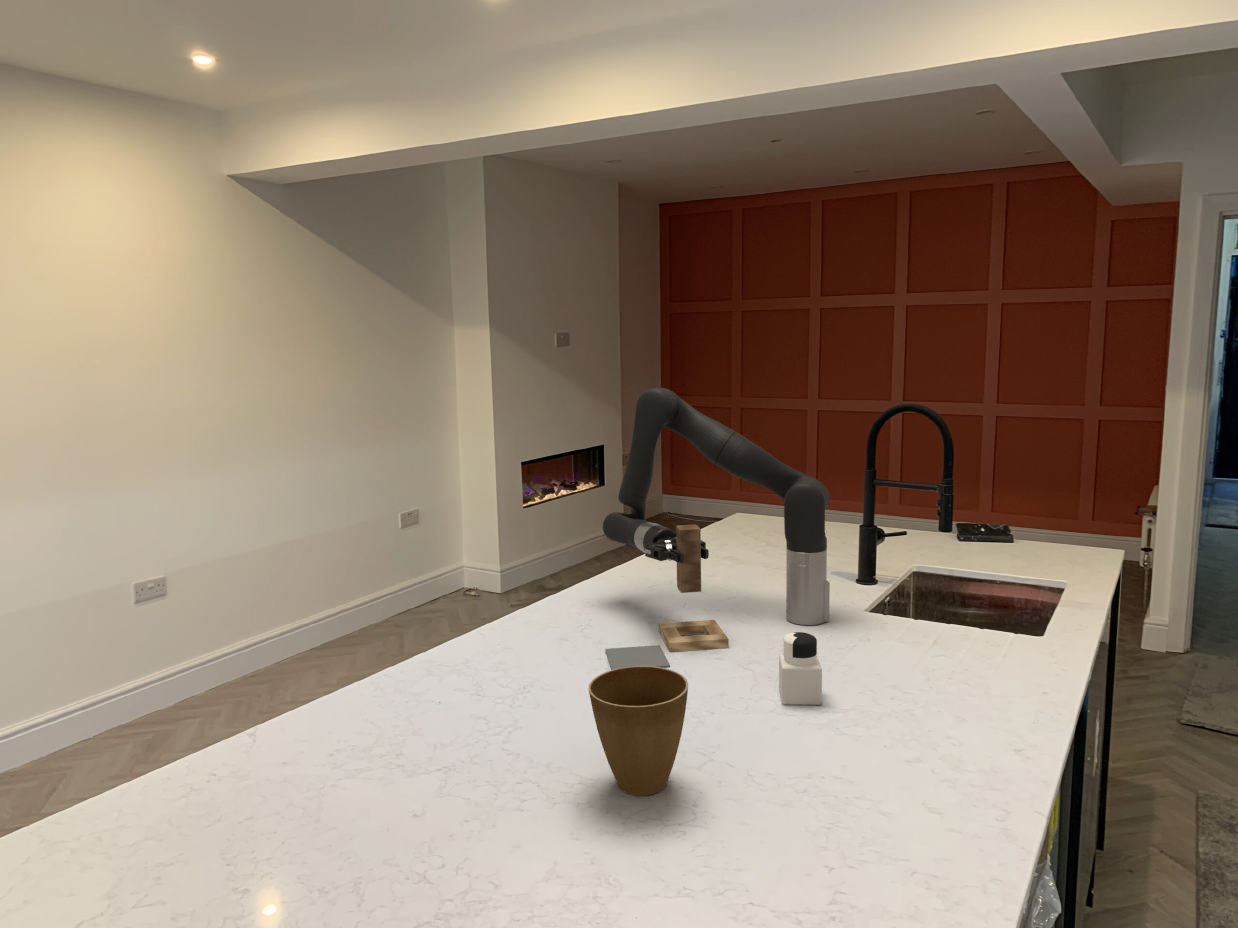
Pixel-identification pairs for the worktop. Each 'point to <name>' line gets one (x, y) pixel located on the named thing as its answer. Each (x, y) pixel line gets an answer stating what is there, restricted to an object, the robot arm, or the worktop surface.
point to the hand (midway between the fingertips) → (694, 556)
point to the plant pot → (640, 724)
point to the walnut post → (689, 558)
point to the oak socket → (709, 640)
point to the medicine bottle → (800, 670)
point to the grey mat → (637, 657)
